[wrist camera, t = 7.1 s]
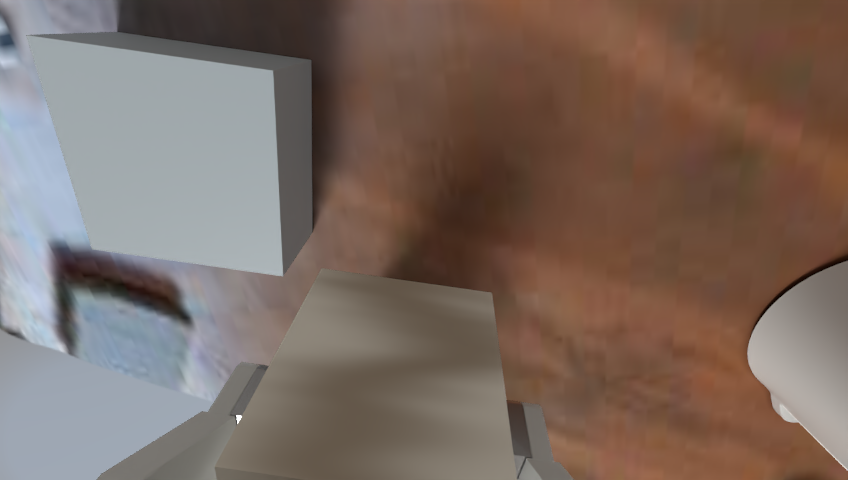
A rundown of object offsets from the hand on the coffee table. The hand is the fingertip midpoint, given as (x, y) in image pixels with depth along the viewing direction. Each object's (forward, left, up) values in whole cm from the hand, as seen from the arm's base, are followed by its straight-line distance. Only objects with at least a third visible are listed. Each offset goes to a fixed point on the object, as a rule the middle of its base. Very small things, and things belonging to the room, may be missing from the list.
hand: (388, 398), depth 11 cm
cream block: (0, 0, -2) cm, 2 cm away
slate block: (+14, 0, -19) cm, 24 cm away
